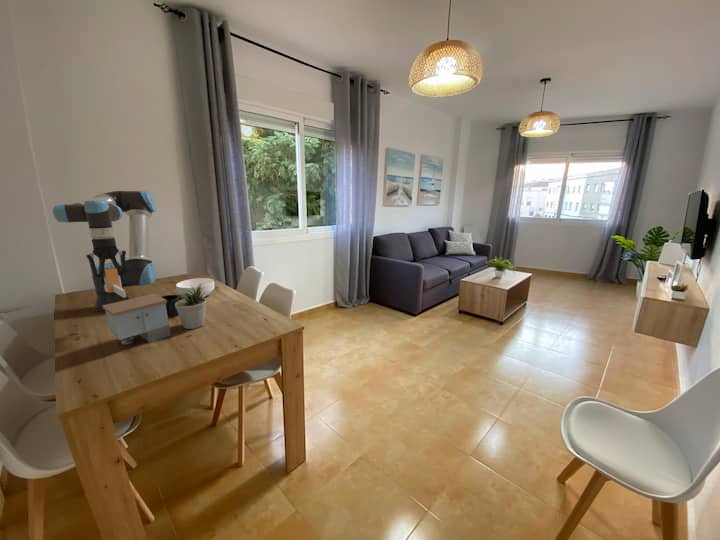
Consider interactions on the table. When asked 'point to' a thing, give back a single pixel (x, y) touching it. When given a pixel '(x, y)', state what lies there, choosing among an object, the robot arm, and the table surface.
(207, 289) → the bowl
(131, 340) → the token
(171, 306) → the mug
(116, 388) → the table surface
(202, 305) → the potted plant
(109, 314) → the cabinet
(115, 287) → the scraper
